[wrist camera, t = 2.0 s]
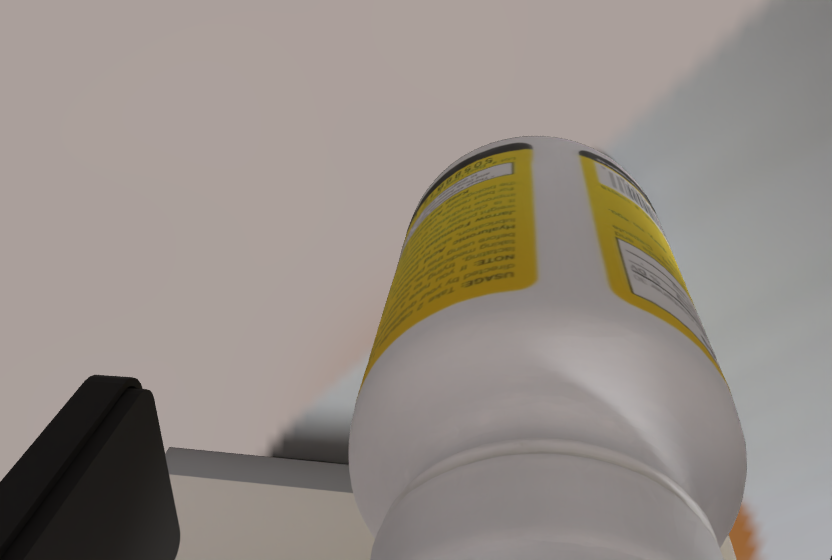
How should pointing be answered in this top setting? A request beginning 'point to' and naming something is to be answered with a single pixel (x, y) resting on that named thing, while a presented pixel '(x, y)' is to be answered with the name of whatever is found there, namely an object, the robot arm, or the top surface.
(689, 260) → the top surface
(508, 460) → the supplement bottle
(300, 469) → the sleeve holder
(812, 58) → the top surface
